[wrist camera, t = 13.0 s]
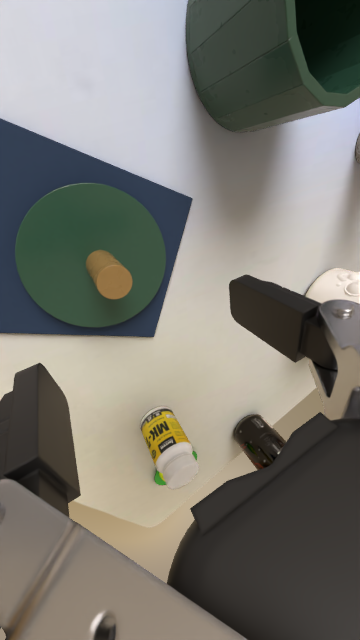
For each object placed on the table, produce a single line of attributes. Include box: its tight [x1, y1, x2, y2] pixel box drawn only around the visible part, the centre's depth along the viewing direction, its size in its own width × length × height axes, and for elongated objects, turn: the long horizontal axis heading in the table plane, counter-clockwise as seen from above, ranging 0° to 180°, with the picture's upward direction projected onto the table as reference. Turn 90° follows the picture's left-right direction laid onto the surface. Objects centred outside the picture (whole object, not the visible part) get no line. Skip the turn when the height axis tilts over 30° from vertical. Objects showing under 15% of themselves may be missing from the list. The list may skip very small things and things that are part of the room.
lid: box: [15, 183, 166, 327], centre depth 17 cm, size 11×11×6 cm
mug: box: [305, 268, 360, 304], centre depth 34 cm, size 12×10×9 cm
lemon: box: [155, 451, 197, 485], centre depth 39 cm, size 8×8×3 cm
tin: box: [186, 0, 360, 132], centre depth 14 cm, size 10×10×8 cm
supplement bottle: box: [140, 406, 199, 489], centre depth 29 cm, size 5×5×8 cm
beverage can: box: [234, 414, 286, 470], centre depth 41 cm, size 7×7×12 cm
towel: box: [0, 119, 192, 337], centre depth 19 cm, size 14×14×1 cm
